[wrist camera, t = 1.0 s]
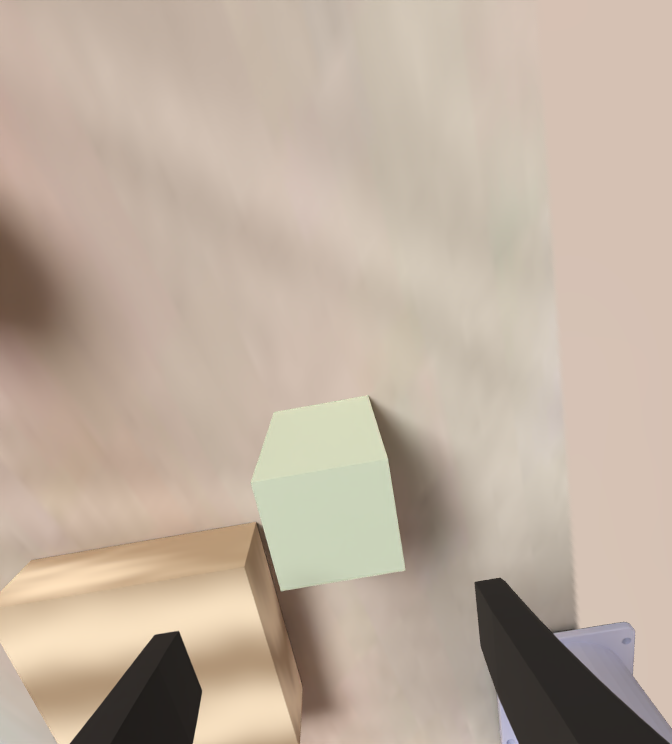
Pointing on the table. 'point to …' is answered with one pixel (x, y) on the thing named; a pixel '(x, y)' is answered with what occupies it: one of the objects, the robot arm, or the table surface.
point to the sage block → (327, 495)
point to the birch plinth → (157, 631)
